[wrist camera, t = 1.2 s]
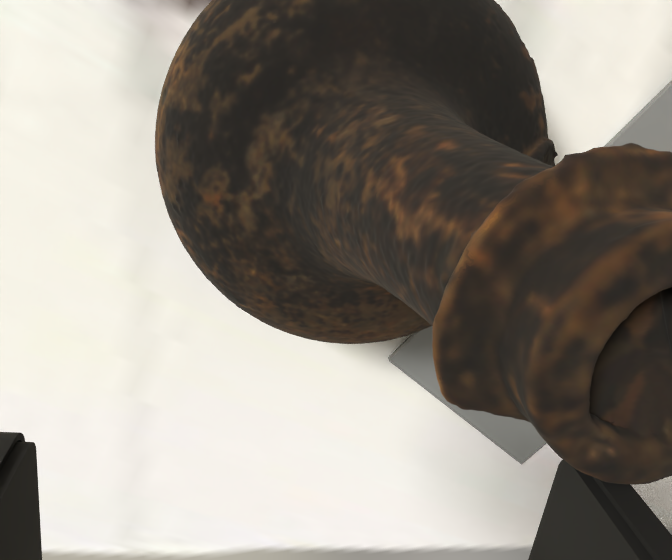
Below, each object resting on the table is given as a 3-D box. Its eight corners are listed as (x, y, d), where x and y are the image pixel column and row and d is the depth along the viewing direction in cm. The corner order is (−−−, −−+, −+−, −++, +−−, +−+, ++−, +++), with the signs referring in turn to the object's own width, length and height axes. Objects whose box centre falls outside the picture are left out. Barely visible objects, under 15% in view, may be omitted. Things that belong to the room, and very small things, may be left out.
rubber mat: (728, 25, 36) (732, 25, 35) (838, 183, 41) (843, 184, 40) (388, 358, 42) (389, 361, 41) (519, 460, 47) (521, 464, 46)
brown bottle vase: (435, 302, 40) (869, 757, 14) (144, 269, 35) (25, 859, 10) (513, 5, 35) (1427, -111, 9) (182, -81, 30) (135, -832, 4)
